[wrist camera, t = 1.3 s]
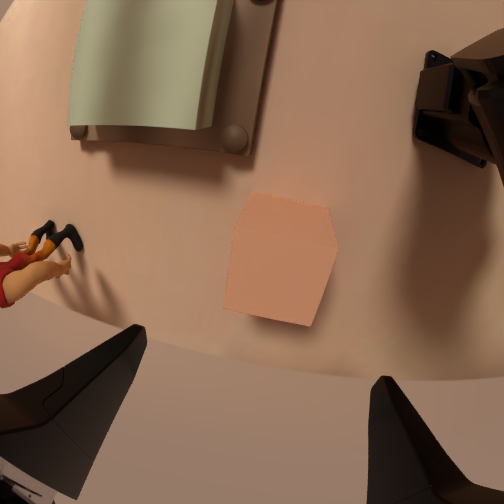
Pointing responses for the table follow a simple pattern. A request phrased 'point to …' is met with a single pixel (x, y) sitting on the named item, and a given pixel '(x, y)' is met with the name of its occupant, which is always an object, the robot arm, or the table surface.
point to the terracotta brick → (280, 259)
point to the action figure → (33, 263)
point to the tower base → (230, 92)
